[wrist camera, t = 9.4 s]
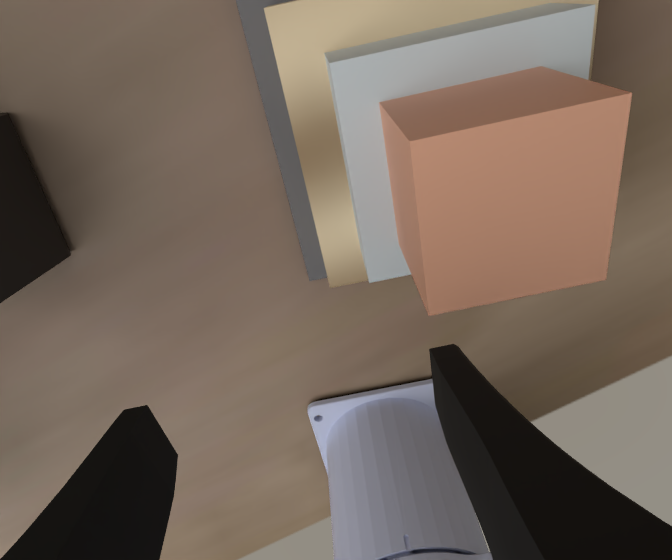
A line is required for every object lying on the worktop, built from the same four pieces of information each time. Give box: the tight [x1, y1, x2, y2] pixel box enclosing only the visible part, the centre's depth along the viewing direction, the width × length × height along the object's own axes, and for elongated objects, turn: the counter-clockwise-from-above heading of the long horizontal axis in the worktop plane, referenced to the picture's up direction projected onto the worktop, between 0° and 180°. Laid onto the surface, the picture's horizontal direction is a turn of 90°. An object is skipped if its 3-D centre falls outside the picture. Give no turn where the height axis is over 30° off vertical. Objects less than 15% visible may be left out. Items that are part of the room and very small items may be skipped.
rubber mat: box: [236, 0, 327, 281], centre depth 18 cm, size 12×12×1 cm
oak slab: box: [264, 0, 599, 288], centre depth 17 cm, size 10×10×2 cm
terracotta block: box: [379, 66, 632, 316], centre depth 12 cm, size 4×4×4 cm
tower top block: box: [324, 3, 595, 283], centre depth 15 cm, size 7×7×2 cm
